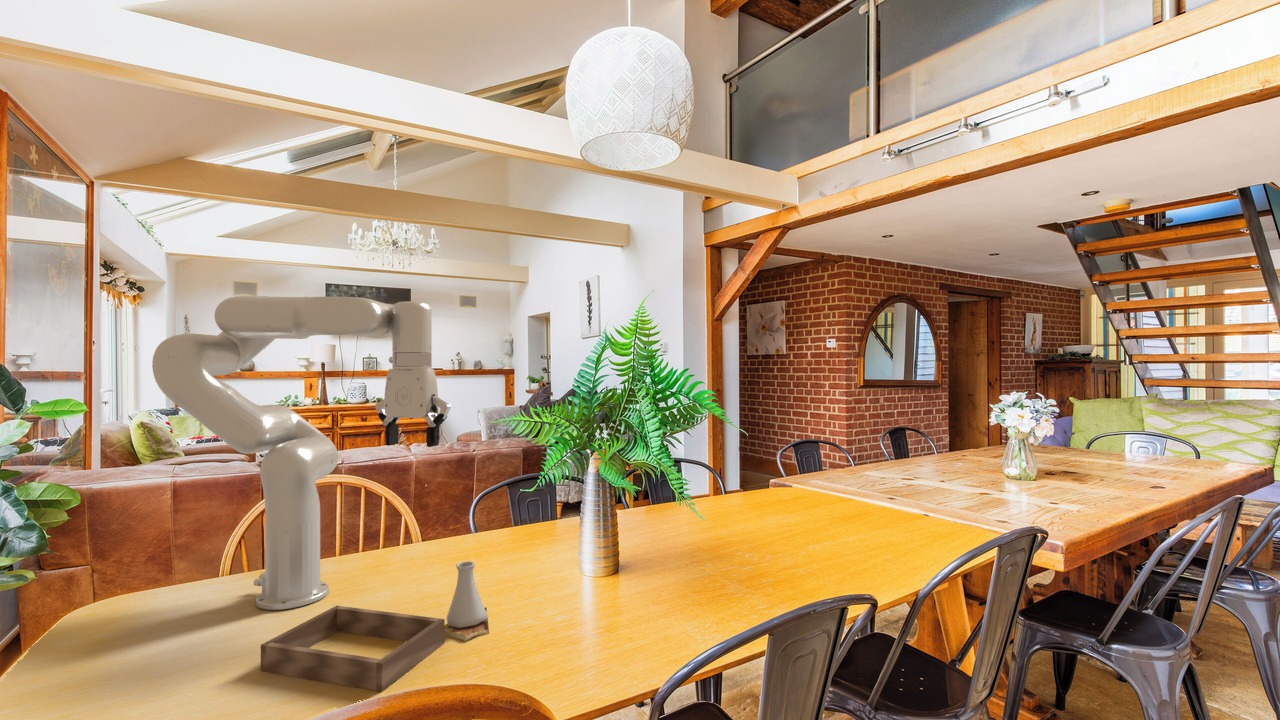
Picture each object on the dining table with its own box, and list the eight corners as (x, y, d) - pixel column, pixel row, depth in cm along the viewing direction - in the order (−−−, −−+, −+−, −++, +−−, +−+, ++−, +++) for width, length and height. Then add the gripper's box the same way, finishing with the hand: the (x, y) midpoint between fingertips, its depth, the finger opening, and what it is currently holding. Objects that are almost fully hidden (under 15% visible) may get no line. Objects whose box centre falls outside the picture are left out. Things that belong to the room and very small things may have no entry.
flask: (456, 633, 99) (454, 574, 99) (439, 619, 104) (437, 564, 104) (495, 619, 103) (493, 563, 103) (477, 607, 109) (475, 554, 109)
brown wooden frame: (260, 671, 88) (260, 644, 88) (336, 628, 103) (336, 605, 103) (382, 691, 82) (382, 663, 83) (444, 643, 97) (444, 619, 97)
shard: (486, 614, 110) (486, 605, 110) (515, 623, 106) (515, 614, 106) (439, 638, 101) (439, 627, 101) (470, 649, 97) (470, 638, 97)
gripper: (363, 362, 118) (363, 446, 117) (437, 361, 113) (438, 449, 113) (389, 362, 125) (389, 442, 125) (459, 361, 120) (459, 444, 120)
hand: (412, 445), depth 119 cm, fingers open, 9 cm apart
